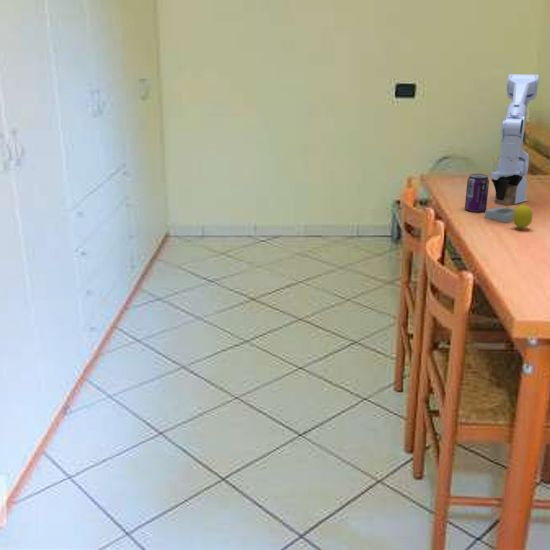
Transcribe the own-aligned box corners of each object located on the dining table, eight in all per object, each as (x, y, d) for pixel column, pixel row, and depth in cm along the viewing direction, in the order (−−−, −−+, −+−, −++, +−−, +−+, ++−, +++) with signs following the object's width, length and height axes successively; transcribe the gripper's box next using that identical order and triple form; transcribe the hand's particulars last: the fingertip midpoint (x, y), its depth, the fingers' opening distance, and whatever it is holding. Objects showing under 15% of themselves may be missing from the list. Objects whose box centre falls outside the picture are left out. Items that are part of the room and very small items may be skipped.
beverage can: (486, 213, 228) (490, 178, 224) (465, 212, 229) (468, 177, 225) (485, 207, 234) (488, 173, 230) (464, 207, 236) (467, 172, 232)
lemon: (530, 227, 212) (533, 202, 209) (530, 232, 207) (533, 207, 204) (511, 225, 214) (514, 201, 211) (511, 230, 209) (514, 205, 206)
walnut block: (502, 201, 223) (505, 183, 221) (514, 204, 220) (517, 186, 218) (494, 203, 220) (496, 185, 218) (506, 206, 217) (508, 188, 215)
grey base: (499, 213, 227) (500, 206, 226) (520, 218, 221) (521, 211, 220) (484, 217, 223) (485, 210, 222) (505, 223, 217) (506, 215, 216)
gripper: (506, 161, 208) (501, 204, 212) (534, 156, 216) (528, 197, 221) (487, 158, 213) (483, 200, 218) (514, 152, 221) (509, 193, 226)
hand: (504, 198), depth 220 cm, fingers closed on walnut block, 4 cm apart
